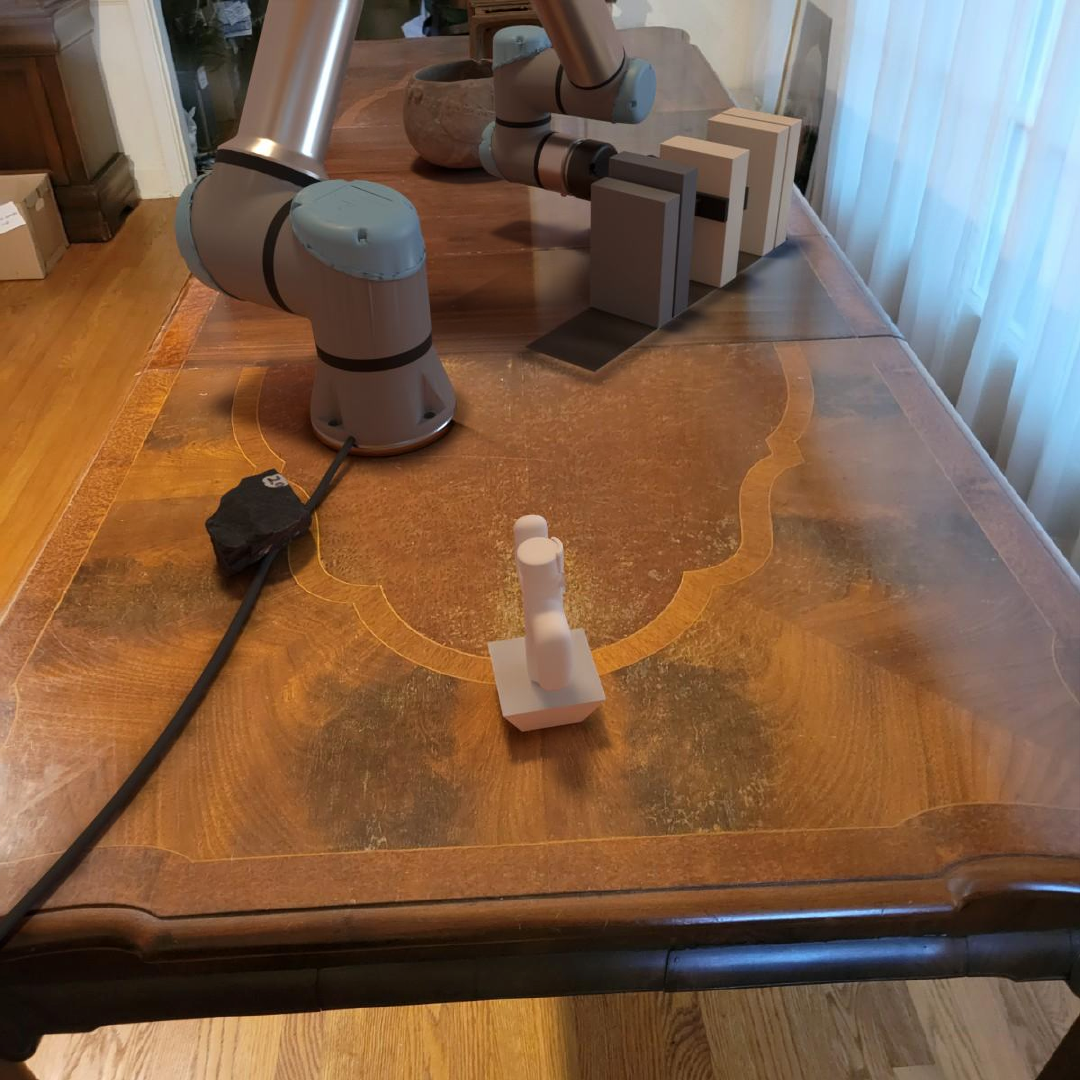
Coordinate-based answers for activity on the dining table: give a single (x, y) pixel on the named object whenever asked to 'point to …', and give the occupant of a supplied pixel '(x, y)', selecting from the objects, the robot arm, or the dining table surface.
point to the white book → (721, 177)
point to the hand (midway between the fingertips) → (736, 204)
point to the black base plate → (611, 329)
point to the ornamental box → (495, 22)
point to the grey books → (642, 238)
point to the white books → (762, 171)
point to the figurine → (544, 642)
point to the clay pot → (450, 111)
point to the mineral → (256, 521)
